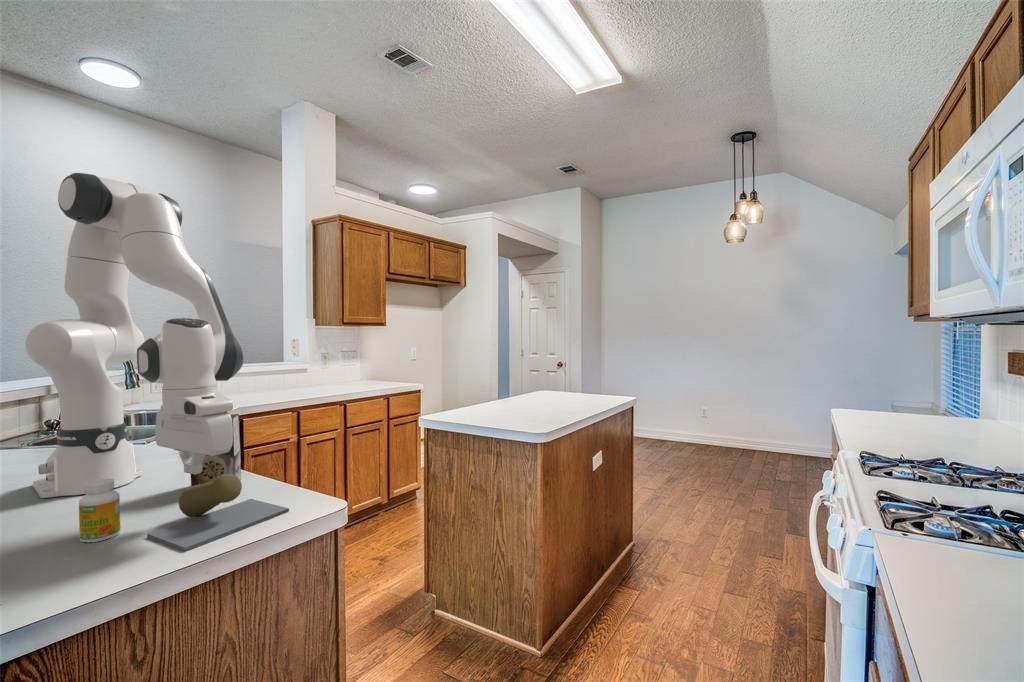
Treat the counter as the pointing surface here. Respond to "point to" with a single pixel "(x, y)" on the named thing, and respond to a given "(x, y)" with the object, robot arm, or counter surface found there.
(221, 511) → the rubber mat
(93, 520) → the supplement bottle
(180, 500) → the cork
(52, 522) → the counter surface
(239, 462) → the coffee box
